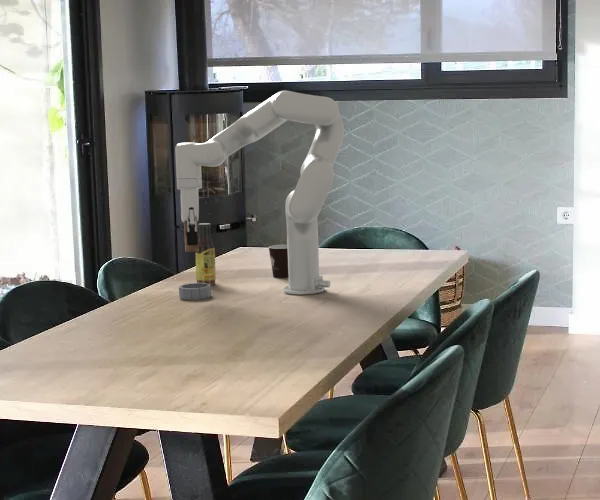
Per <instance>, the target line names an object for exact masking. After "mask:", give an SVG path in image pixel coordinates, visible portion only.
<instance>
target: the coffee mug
mask: <svg viewBox="0 0 600 500" xmlns="http://www.w3.org/2000/svg"><path fill="white" fill-rule="evenodd" d="M268 250H269V251H268V252H269V258H270V265H271V271H272V277H273V278H274V279H275V278H276V279H287V278H288V279H289V276H288V249H287V244H275V245H270V246H268Z"/></svg>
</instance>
